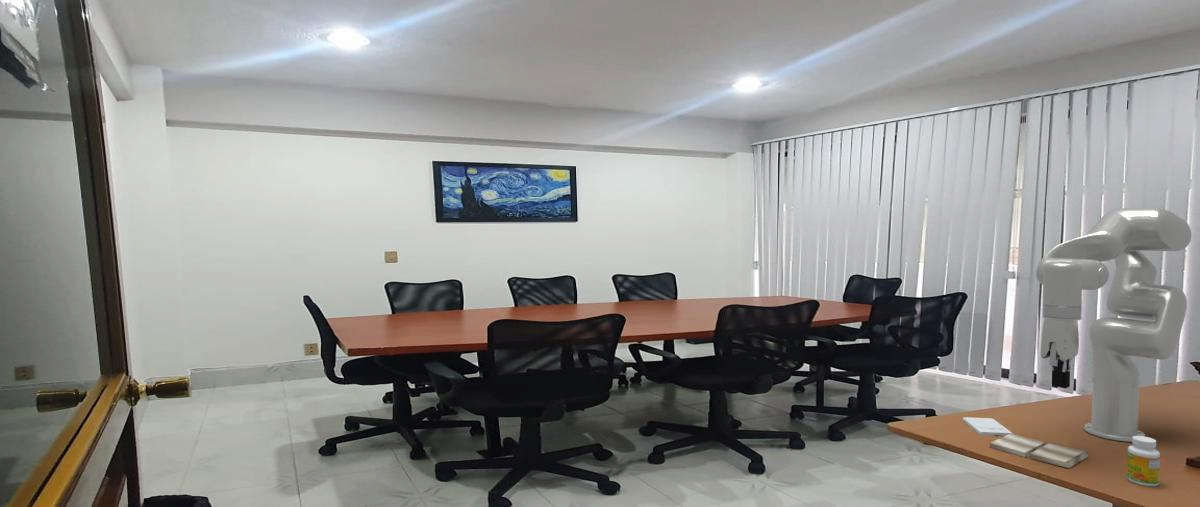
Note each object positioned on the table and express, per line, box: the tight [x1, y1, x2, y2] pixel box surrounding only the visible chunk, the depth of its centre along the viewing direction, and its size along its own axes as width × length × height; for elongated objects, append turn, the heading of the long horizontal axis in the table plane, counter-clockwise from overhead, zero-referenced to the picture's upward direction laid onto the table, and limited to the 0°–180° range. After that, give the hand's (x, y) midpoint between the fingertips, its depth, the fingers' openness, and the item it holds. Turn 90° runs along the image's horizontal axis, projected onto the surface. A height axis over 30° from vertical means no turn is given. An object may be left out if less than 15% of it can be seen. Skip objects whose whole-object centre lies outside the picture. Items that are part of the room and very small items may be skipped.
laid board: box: [989, 433, 1046, 459], centre depth 156 cm, size 12×9×1 cm
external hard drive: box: [962, 416, 1014, 437], centre depth 171 cm, size 2×8×12 cm
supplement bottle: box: [1126, 436, 1161, 487], centre depth 135 cm, size 5×5×10 cm
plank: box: [1029, 442, 1089, 469], centre depth 149 cm, size 12×8×1 cm, turn 124°
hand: (1060, 386), depth 149 cm, fingers closed
